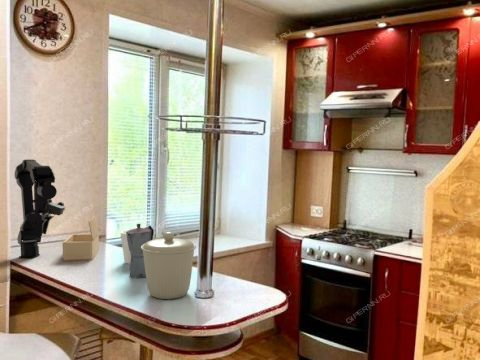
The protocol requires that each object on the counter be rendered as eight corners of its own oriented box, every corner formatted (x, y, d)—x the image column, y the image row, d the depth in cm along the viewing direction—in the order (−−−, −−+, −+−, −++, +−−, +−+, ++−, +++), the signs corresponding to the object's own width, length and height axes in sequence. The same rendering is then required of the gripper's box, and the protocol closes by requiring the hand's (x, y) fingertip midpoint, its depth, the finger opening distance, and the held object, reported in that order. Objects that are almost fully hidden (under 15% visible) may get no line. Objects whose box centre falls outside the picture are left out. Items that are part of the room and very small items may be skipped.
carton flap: (88, 221, 197) (89, 221, 197) (94, 216, 212) (95, 215, 212) (92, 240, 197) (93, 239, 197) (98, 233, 213) (98, 233, 213)
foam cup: (148, 261, 196) (148, 231, 195) (132, 265, 188) (132, 234, 187) (132, 258, 201) (132, 229, 200) (116, 262, 193) (116, 232, 192)
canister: (206, 291, 155) (206, 230, 154) (174, 307, 139) (174, 239, 138) (163, 283, 164) (163, 225, 162) (129, 297, 148) (129, 233, 146)
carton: (62, 260, 195) (61, 242, 194) (71, 251, 213) (71, 234, 213) (92, 260, 196) (92, 241, 196) (99, 250, 215) (99, 233, 215)
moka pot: (118, 278, 170) (118, 225, 169) (142, 268, 184) (141, 219, 183) (139, 281, 166) (139, 227, 165) (162, 270, 181) (162, 221, 179)
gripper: (54, 199, 174) (54, 239, 175) (69, 194, 193) (69, 230, 194) (24, 199, 174) (25, 239, 175) (42, 194, 192) (43, 230, 193)
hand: (42, 235), depth 184 cm, fingers open, 4 cm apart
